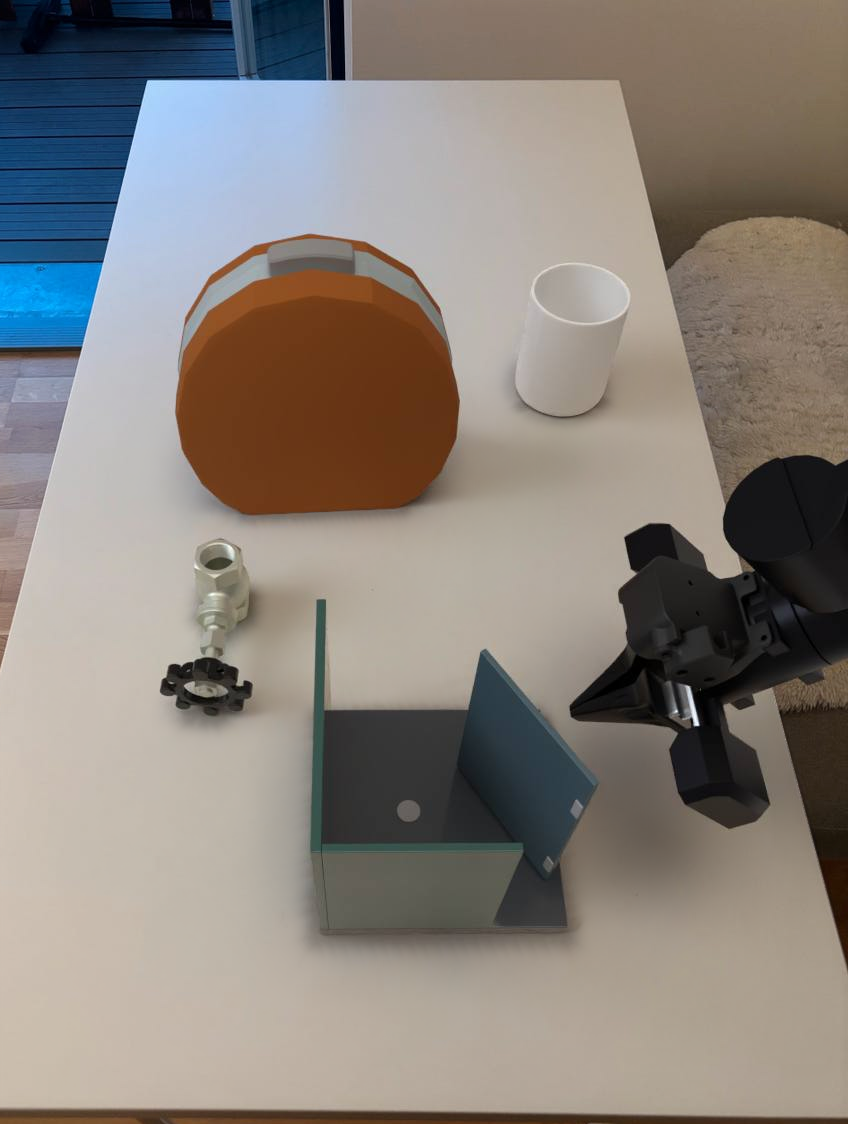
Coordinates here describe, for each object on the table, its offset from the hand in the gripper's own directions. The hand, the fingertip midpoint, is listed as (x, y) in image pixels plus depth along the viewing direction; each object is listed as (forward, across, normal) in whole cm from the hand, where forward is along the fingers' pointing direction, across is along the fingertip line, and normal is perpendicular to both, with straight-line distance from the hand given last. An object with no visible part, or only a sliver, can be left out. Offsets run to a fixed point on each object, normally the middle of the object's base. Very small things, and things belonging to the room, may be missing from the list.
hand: (573, 714), depth 60 cm
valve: (+23, -10, -12) cm, 28 cm away
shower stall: (+12, +4, -1) cm, 12 cm away
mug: (+2, -41, +9) cm, 43 cm away
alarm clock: (+18, -29, -7) cm, 35 cm away
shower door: (+7, +4, +2) cm, 8 cm away
